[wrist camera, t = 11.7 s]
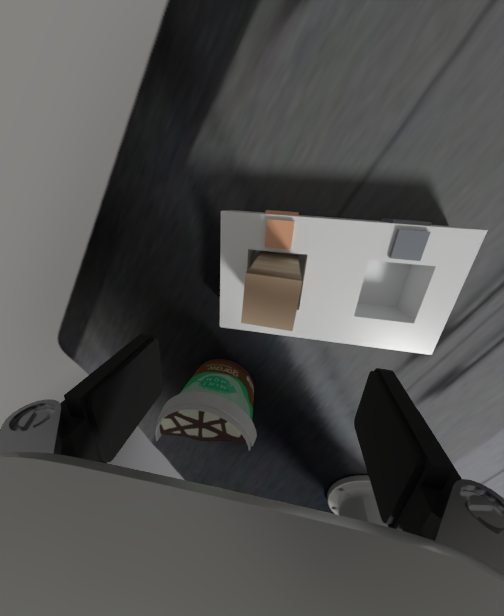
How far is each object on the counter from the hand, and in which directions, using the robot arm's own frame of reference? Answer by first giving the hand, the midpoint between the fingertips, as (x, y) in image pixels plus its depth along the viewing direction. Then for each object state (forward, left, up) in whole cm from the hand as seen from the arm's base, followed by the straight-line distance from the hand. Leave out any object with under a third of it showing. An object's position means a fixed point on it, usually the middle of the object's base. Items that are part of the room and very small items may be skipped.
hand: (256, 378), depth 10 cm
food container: (-16, +7, -19) cm, 26 cm away
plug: (0, 0, -18) cm, 18 cm away
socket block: (0, -5, -19) cm, 20 cm away
